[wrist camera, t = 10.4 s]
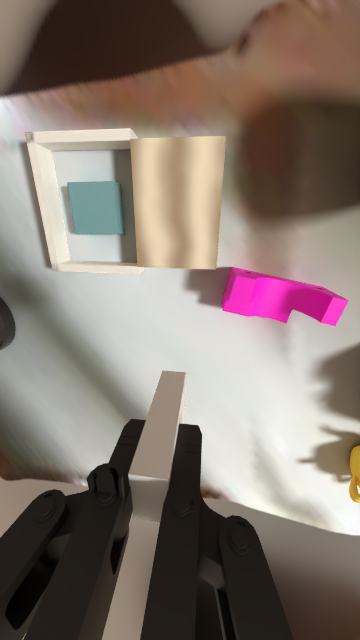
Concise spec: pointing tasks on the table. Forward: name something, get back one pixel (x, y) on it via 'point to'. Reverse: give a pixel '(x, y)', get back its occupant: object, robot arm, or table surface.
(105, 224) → the teal rectangular block
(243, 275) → the magenta notched bracket
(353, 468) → the teapot
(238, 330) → the table surface
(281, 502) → the table surface
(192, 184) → the plate
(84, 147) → the box
